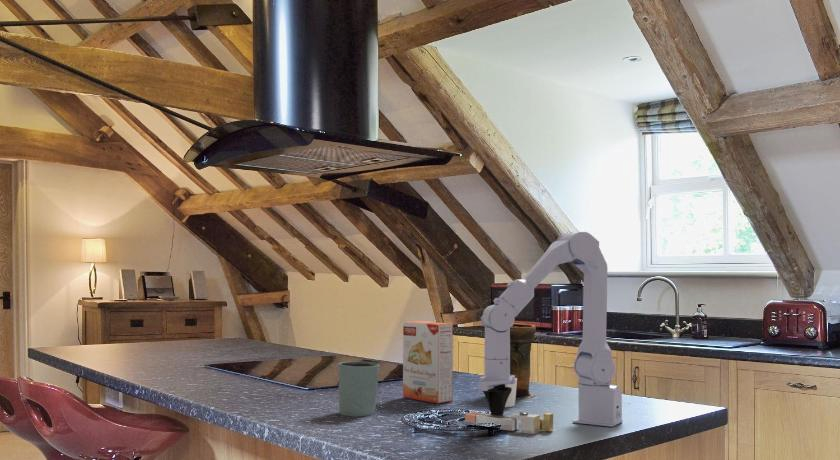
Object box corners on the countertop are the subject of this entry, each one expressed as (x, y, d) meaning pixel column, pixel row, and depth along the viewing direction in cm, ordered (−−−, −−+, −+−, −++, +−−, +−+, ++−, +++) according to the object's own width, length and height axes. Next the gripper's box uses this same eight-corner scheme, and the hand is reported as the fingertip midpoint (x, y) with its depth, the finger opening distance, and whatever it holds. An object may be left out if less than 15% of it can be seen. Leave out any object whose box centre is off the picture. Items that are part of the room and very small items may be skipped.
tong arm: (519, 428, 176) (519, 417, 177) (516, 429, 175) (516, 418, 175) (472, 422, 182) (473, 412, 183) (470, 423, 181) (470, 412, 181)
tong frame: (539, 431, 174) (539, 413, 174) (533, 434, 171) (533, 415, 171) (472, 423, 182) (472, 405, 182) (465, 426, 179) (465, 408, 180)
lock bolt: (553, 430, 175) (553, 413, 175) (549, 431, 173) (549, 414, 173) (532, 427, 177) (532, 411, 177) (528, 428, 176) (528, 412, 176)
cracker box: (401, 397, 219) (402, 320, 220) (417, 395, 223) (418, 320, 224) (437, 404, 209) (437, 323, 210) (453, 401, 213) (453, 322, 214)
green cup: (340, 409, 200) (340, 360, 201) (380, 409, 200) (381, 361, 200) (334, 416, 190) (335, 365, 191) (377, 417, 190) (377, 366, 190)
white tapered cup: (500, 402, 213) (500, 375, 214) (522, 405, 209) (522, 377, 209) (485, 405, 208) (485, 378, 208) (507, 408, 204) (507, 380, 204)
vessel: (517, 389, 235) (518, 321, 236) (545, 398, 222) (545, 325, 223) (474, 392, 229) (475, 322, 229) (500, 401, 216) (501, 327, 217)
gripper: (495, 354, 189) (495, 413, 188) (466, 360, 176) (465, 422, 176) (523, 356, 185) (523, 416, 184) (494, 362, 173) (494, 426, 172)
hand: (497, 419), depth 180 cm, fingers closed
